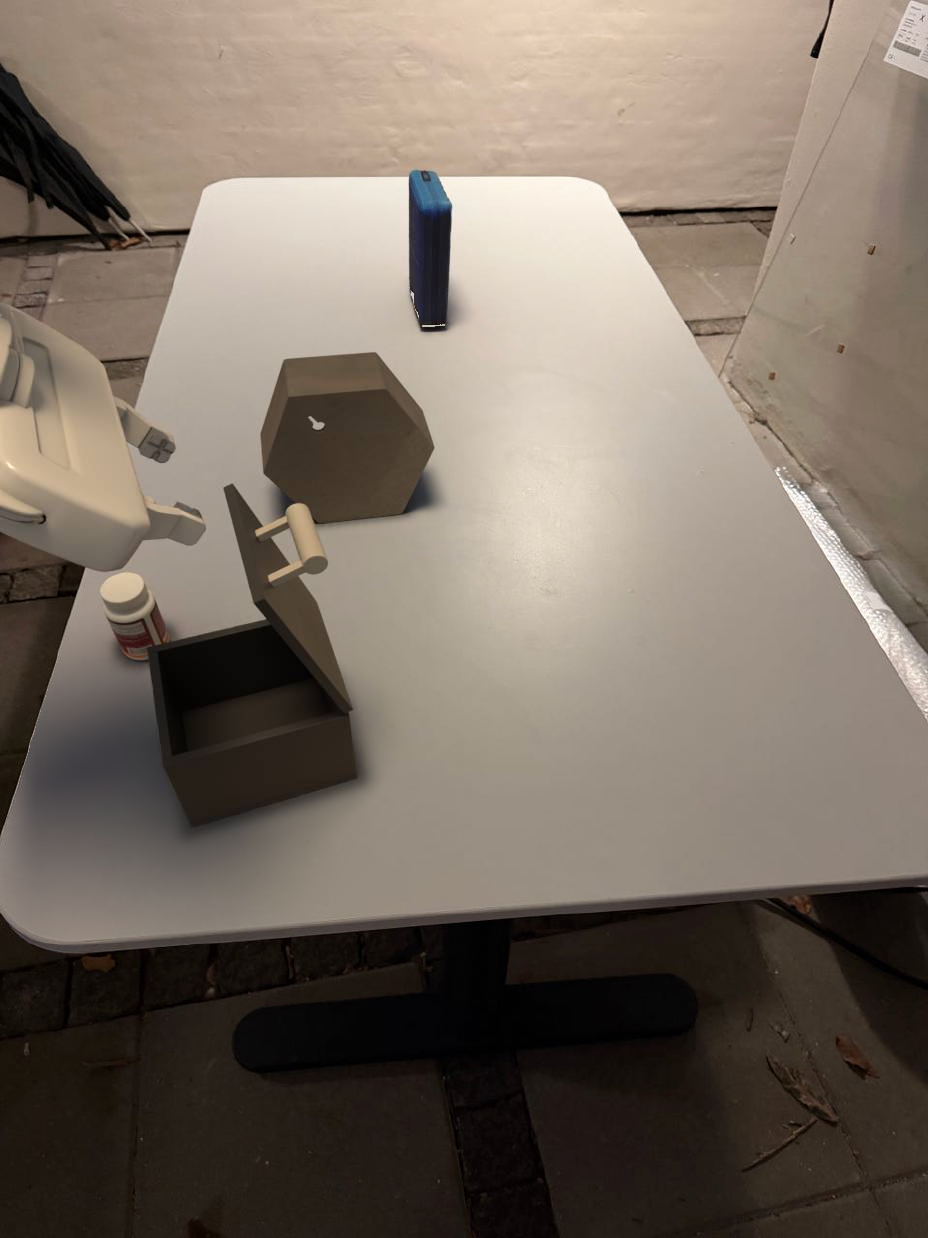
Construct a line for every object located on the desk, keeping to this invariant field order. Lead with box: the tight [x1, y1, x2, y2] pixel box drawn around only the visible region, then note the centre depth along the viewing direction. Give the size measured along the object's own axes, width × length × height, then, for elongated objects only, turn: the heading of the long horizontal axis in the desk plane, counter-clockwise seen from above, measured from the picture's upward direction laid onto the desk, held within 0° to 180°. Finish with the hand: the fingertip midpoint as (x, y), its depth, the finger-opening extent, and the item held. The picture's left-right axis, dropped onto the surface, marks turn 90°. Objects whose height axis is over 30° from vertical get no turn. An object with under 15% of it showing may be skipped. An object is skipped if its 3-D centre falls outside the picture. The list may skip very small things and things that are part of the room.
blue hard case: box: [408, 169, 453, 329], centre depth 122 cm, size 14×5×20 cm, turn 11°
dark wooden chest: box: [147, 618, 358, 828], centre depth 68 cm, size 15×13×10 cm
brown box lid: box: [222, 483, 354, 714], centre depth 60 cm, size 16×13×5 cm
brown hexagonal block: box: [259, 351, 435, 524], centre depth 90 cm, size 17×8×21 cm
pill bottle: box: [99, 572, 170, 661], centre depth 76 cm, size 5×5×8 cm
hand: (183, 487), depth 49 cm, fingers open, 8 cm apart
